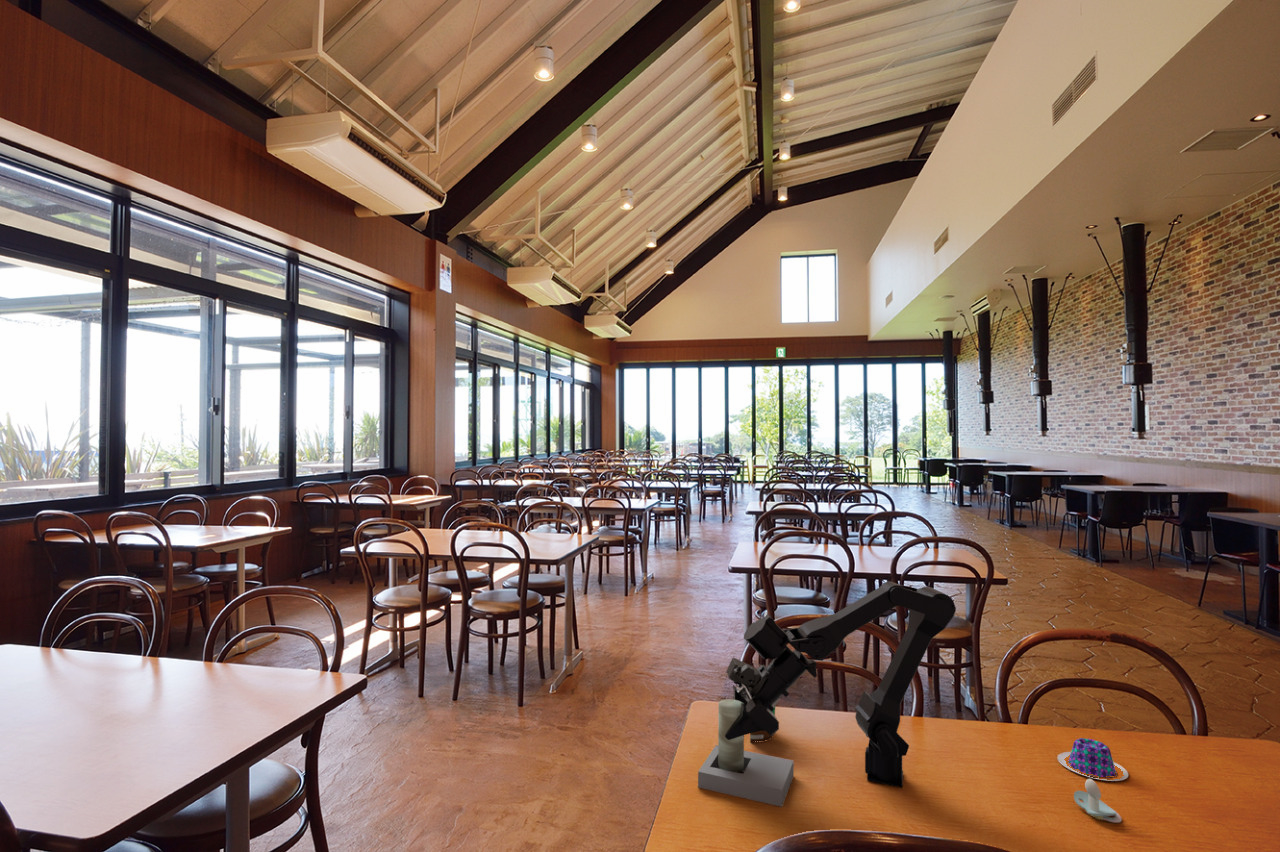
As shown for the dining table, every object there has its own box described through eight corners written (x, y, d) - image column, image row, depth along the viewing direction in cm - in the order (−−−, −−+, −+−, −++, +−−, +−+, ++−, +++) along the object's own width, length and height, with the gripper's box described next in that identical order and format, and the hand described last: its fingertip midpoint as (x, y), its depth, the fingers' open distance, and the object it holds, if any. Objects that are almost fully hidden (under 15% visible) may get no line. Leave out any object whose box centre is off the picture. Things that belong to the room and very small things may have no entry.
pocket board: (793, 775, 129) (793, 760, 129) (782, 806, 118) (782, 790, 118) (715, 759, 135) (715, 744, 135) (698, 787, 124) (698, 771, 124)
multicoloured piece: (1125, 765, 135) (1125, 739, 136) (1131, 791, 125) (1131, 763, 125) (1057, 750, 142) (1056, 725, 142) (1057, 773, 132) (1057, 747, 132)
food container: (778, 748, 140) (779, 701, 141) (750, 745, 142) (750, 699, 142) (778, 724, 152) (778, 681, 153) (751, 721, 154) (752, 679, 154)
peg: (746, 762, 129) (746, 701, 129) (740, 774, 124) (740, 711, 125) (722, 757, 131) (722, 697, 131) (715, 768, 126) (715, 706, 127)
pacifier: (1100, 804, 120) (1068, 803, 120) (1101, 770, 121) (1069, 769, 120) (1131, 827, 113) (1097, 826, 113) (1132, 791, 113) (1098, 790, 113)
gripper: (742, 632, 138) (690, 685, 137) (761, 662, 119) (701, 723, 118) (778, 669, 138) (726, 722, 137) (804, 705, 119) (744, 766, 118)
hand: (724, 731), depth 128 cm, fingers closed on peg, 5 cm apart
